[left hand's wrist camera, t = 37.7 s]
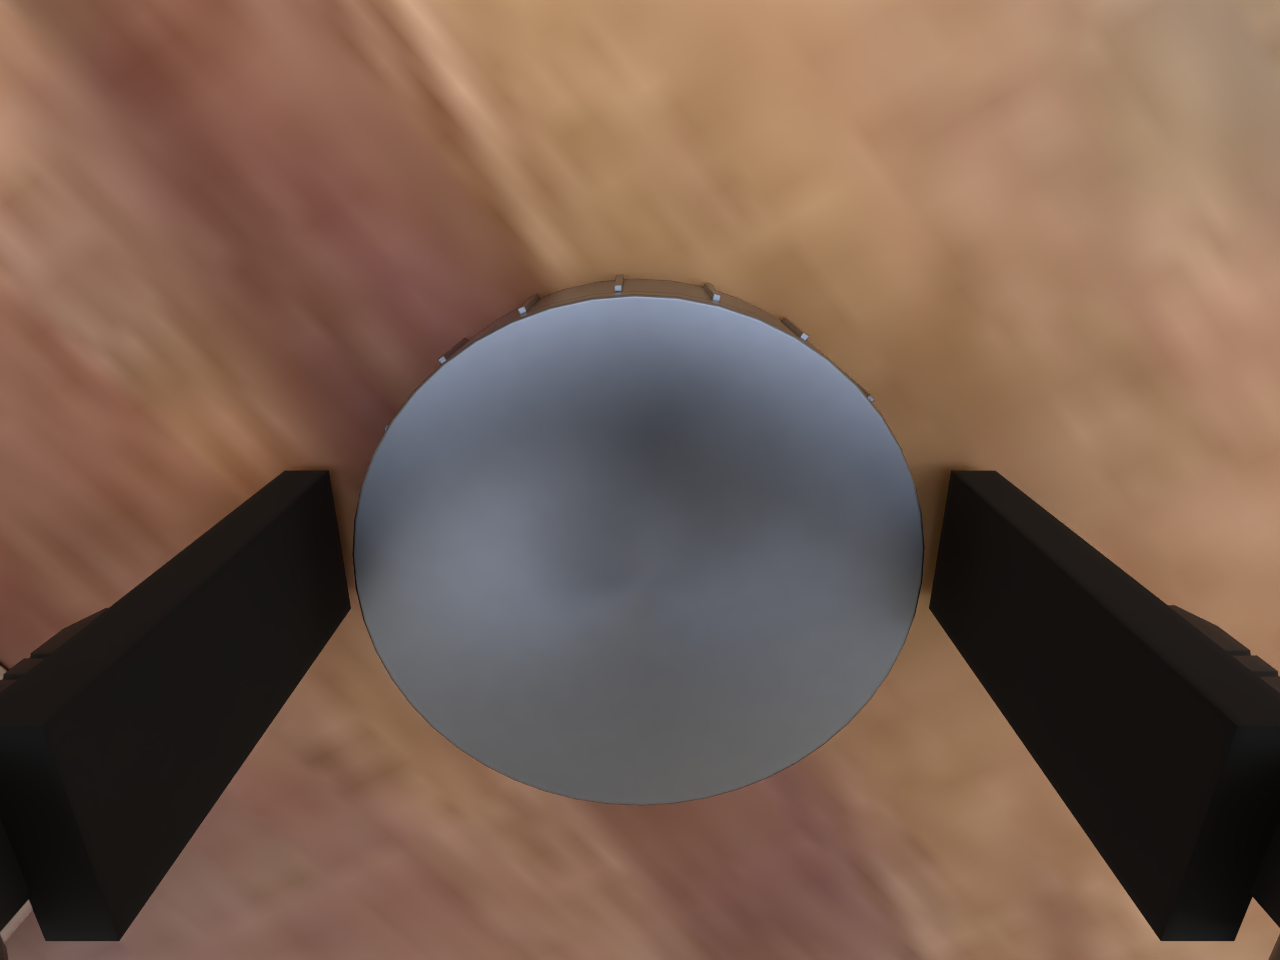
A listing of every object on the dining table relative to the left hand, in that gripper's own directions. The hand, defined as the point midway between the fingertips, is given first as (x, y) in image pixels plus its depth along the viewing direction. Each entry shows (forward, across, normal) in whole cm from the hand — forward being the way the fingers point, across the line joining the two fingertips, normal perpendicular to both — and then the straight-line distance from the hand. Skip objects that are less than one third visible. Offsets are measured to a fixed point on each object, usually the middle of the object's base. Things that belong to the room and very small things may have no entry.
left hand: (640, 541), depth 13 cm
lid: (-1, 0, 0) cm, 1 cm away
